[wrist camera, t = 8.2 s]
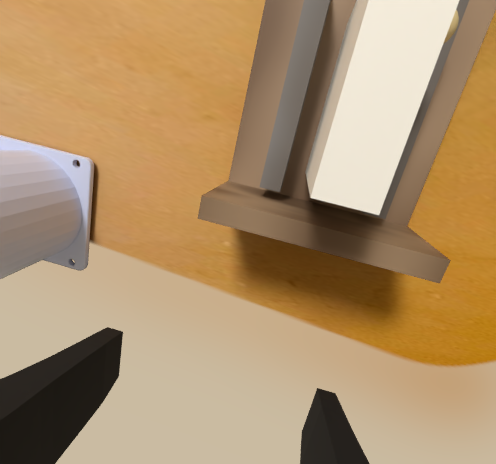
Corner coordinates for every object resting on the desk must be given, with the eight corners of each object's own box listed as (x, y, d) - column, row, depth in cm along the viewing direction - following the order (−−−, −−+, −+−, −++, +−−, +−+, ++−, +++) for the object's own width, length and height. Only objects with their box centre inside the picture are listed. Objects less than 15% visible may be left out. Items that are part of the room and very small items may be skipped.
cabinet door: (305, 171, 16) (310, 197, 9) (347, 24, 14) (400, -108, 7) (362, 186, 16) (418, 224, 9) (413, 37, 14) (547, -84, 6)
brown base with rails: (230, 193, 19) (197, 218, 13) (279, -38, 15) (266, -159, 9) (392, 235, 18) (439, 283, 12) (485, 0, 14) (623, -104, 8)
